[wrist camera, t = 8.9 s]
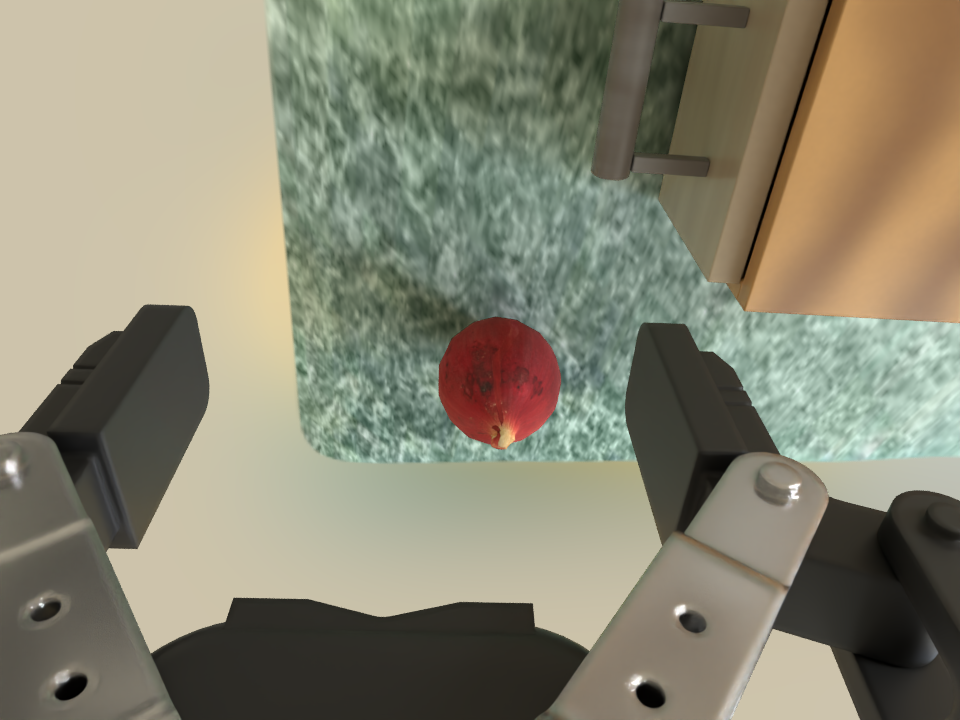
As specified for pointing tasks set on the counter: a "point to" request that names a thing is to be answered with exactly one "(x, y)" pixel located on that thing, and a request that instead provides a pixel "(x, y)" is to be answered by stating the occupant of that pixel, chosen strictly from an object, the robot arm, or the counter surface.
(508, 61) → the counter surface
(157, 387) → the robot arm
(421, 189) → the counter surface
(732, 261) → the drawer
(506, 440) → the onion
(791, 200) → the cabinet
